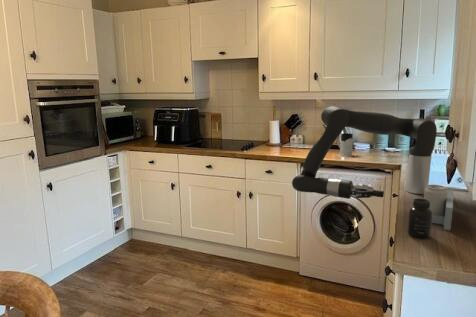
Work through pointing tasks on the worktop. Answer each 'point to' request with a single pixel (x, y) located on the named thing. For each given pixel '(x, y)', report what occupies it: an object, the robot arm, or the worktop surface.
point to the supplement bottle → (420, 219)
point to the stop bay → (448, 212)
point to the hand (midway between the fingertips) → (383, 194)
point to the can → (436, 199)
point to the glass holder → (346, 145)
